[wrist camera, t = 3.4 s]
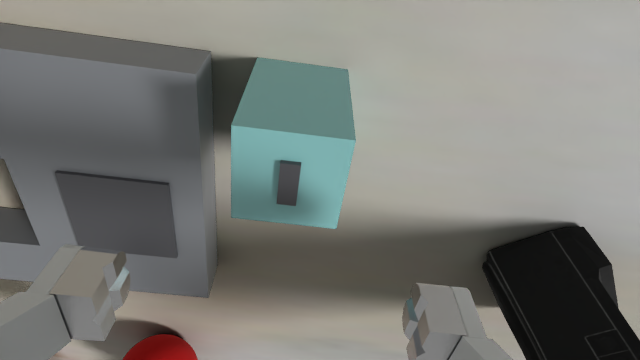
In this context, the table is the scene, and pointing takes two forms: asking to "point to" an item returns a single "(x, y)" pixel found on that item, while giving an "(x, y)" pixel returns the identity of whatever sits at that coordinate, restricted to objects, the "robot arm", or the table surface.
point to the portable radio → (560, 298)
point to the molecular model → (161, 349)
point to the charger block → (292, 144)
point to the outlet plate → (109, 156)
